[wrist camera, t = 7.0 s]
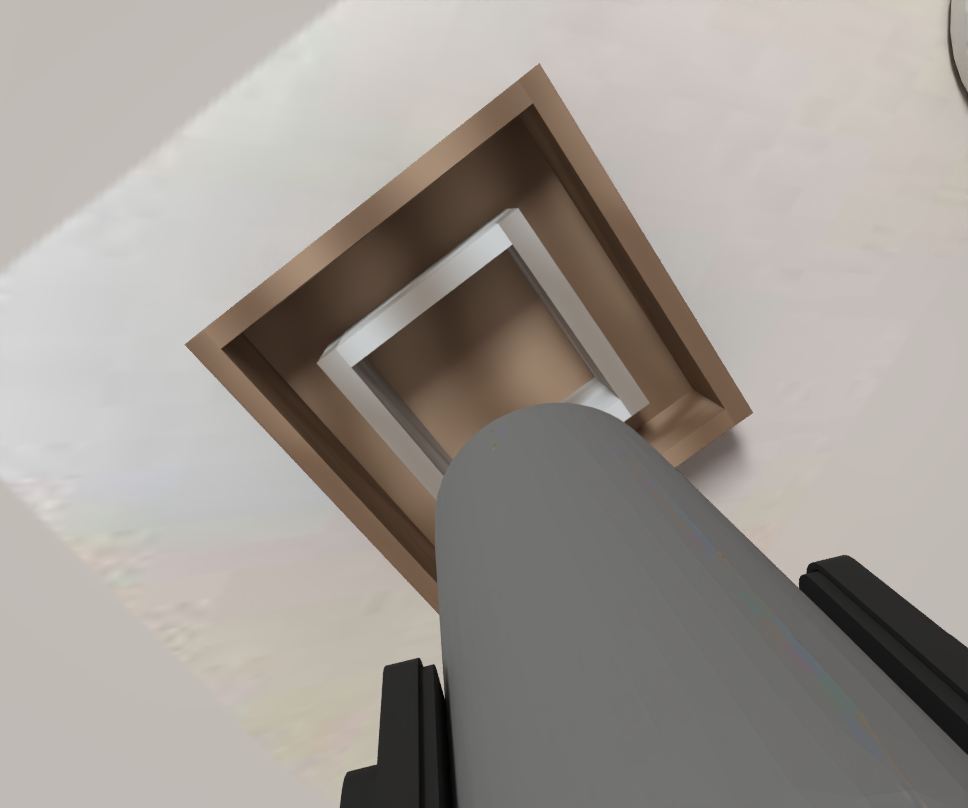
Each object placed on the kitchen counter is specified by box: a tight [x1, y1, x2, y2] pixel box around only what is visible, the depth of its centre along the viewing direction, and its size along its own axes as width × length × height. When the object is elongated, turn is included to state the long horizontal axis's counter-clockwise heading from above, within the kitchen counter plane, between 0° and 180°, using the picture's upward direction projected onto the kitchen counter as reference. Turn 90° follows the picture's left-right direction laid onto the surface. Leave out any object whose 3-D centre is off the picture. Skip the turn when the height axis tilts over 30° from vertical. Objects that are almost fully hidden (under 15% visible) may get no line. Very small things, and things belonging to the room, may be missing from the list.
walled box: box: [185, 63, 753, 614], centre depth 29 cm, size 18×18×5 cm
